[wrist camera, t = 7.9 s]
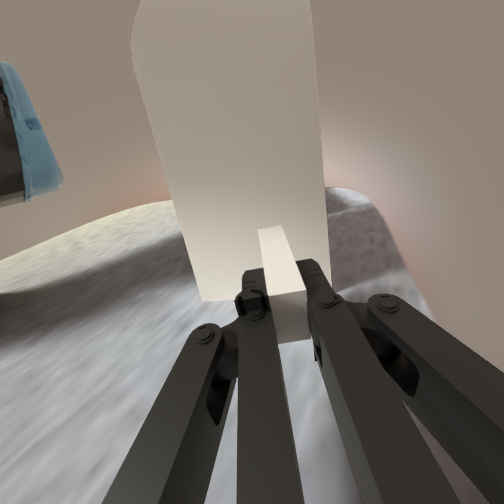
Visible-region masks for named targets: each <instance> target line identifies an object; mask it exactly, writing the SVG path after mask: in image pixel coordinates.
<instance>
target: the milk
mask: <svg viewBox="0 0 504 504" xmlns="http://www.w3.org/2000/svg"><path fill="white" fill-rule="evenodd" d="M131 56H132V61H133V66H134V71H135V74H136V77H137V81H138V84H139V87H140V91H141V95H142V98H143V101H144V105H145V108H146V112H147V115H148V118H149V121H150V125H151V129H152V132H153V135H154V139H155V142H156V145H157V149H158V153H159V156H160V159H161V163H162V166H163V170H164V173H165V176H166V180H167V183H168V186H169V190H170V193H171V197H172V200H173V204H174V207H175V210H176V214H177V217H178V221H179V224H180V227H181V231H182V234H183V238H184V241H185V244H186V248H187V251H188V255H189V258H190V262H191V265H192V268H193V272H194V275H195V279H196V282H197V285H198V289H199V292H200V296H201V299H202V302H204V301H222V300H235V297H236V296H237V295H238V294H239V293H240V292H241V291H242V276H243V274H244V272H245V271H246V270H252V269H258V268H263V261H262V254H261V248H260V241H259V234H258V229H264V228H269V227H274V226H280V225H281V226H282V228H283V231H284V233H285V236H286V239H287V241H288V244H289V246H290V249H291V252H292V254H293V257H294V259H295V261H299V260H304V259H310V258H312V259H313V260H315V261H316V262H318V263H319V265H320V267H321V270H322V271H323V273H324V275H325V276H326V278H327V280H328V282H329V284H330V285H331V287H332V281H331V267H330V254H329V240H328V226H327V213H326V199H325V186H324V172H323V159H322V145H321V131H320V118H319V104H318V91H317V77H316V63H315V49H314V36H313V22H312V14H311V8H310V3H309V0H141V3H140V5H139V8H138V12H137V15H136V18H135V21H134V26H133V30H132V36H131Z"/></svg>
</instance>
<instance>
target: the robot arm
mask: <svg viewBox="0 0 504 504" xmlns="http://www.w3.org/2000/svg"><path fill="white" fill-rule="evenodd" d="M62 182H63V176H62V173H61V170H60V168H59V165H58V163H57V161H56V159H55V156H54V154H53V151H52V149H51V147H50V145H49V142H48V140H47V138H46V135H45V133H44V131H43V129H42V126H41V124H40V121H39V119H38V117H37V115H36V112H35V110H34V108H33V105H32V103H31V101H30V98H29V96H28V93H27V91H26V89H25V87H24V84H23V82H22V80H21V77H20V75H19V73H18V71H17V69H16V67H15V66H13V65H12V64H10V63H8V62H2V61H0V207H4V206H8V205H12V204H16V203H20V202H27V201H29V200H30V199H31V198H35V197H38V196H41V195H44V194H47V193H51V192H53V191H55V190H57V189H58V188H59V187H60V186H61V185H62ZM258 234H259V241H260V248H261V254H262V261H263V268H258V269H252V270H246V271H245V272H244V274H243V276H242V291H241V292H240V293H239V294H238V295H237V296H236V297H235V301H234V302H235V305H236V309H237V312H238V316H239V317H238V318H237V319H236V320H235V321H234V322H232V323H230V324H229V325H226V326H224V327H222V328H220V327H219V326H218V325H216V324H212V323H209V324H203V325H201V326H199V327H197V328H196V329H195V330H193V331H192V333H191V334H190V335H189V337H188V339H187V341H186V343H185V345H184V347H183V348H182V350H181V352H180V354H179V356H178V358H177V360H176V362H175V364H174V366H173V368H172V370H171V372H170V373H169V375H168V377H167V379H166V381H165V383H164V385H163V387H162V389H161V391H160V393H159V395H158V397H157V398H156V400H155V402H154V404H153V406H152V408H151V410H150V412H149V414H148V416H147V418H146V420H145V421H144V423H143V425H142V427H141V429H140V431H139V433H138V435H137V437H136V439H135V441H134V443H133V445H132V446H131V448H130V450H129V452H128V454H127V456H126V458H125V460H124V462H123V464H122V466H121V468H120V470H119V471H118V473H117V475H116V477H115V479H114V481H113V483H112V485H111V487H110V489H109V491H108V493H107V494H106V496H105V498H104V500H103V502H102V504H204V502H205V498H206V494H207V491H208V487H209V483H210V479H211V475H212V471H213V468H214V464H215V460H216V456H217V452H218V448H219V445H220V441H221V437H222V433H223V429H224V425H225V422H226V418H227V414H228V410H229V406H230V402H231V399H232V395H233V391H234V387H235V383H236V378H237V377H238V427H237V504H305V502H304V496H303V490H302V484H301V478H300V472H299V466H298V461H297V455H296V449H295V443H294V437H293V431H292V425H291V419H290V413H289V407H288V401H287V395H286V389H285V383H284V377H283V371H282V365H281V359H280V353H279V348H278V344H281V343H287V342H294V341H300V340H306V339H311V336H312V339H313V345H314V356H315V361H318V364H319V367H320V371H321V374H322V377H323V380H324V383H325V386H326V390H327V393H328V396H329V399H330V402H331V405H332V409H333V412H334V415H335V418H336V421H337V425H338V428H339V431H340V434H341V437H342V440H343V444H344V447H345V450H346V453H347V456H348V460H349V463H350V466H351V469H352V472H353V475H354V479H355V482H356V485H357V488H358V491H359V494H360V498H361V501H362V504H461V503H460V501H459V500H458V498H457V496H456V494H455V493H454V491H453V489H452V487H451V486H450V484H449V482H448V480H447V479H446V477H445V475H444V473H443V472H442V470H441V468H440V467H439V465H438V463H437V461H436V460H435V458H434V456H433V454H432V453H431V451H430V449H429V447H428V446H427V444H426V442H425V440H424V439H423V437H422V435H421V433H420V432H419V430H418V428H417V426H416V425H415V423H414V421H413V419H412V418H411V416H410V414H409V412H408V411H407V409H406V407H405V405H404V404H403V402H402V400H403V401H404V402H405V404H406V405H407V406H408V407H409V408H410V410H411V411H412V412H413V413H414V414H415V415H416V417H417V418H418V419H419V420H420V421H421V422H422V424H423V425H424V426H425V427H426V428H427V430H428V431H429V432H430V433H431V434H432V435H433V437H434V438H435V439H436V440H437V441H438V443H439V444H440V445H441V446H442V447H443V448H444V450H445V451H446V452H447V453H448V454H449V455H450V457H451V458H452V459H453V460H454V461H455V463H456V464H457V465H458V466H459V467H460V468H461V470H462V471H463V472H464V473H465V474H466V475H467V477H468V478H469V479H470V480H471V481H472V483H473V484H474V485H475V486H476V487H477V488H478V490H479V491H480V492H481V493H482V494H483V496H484V497H485V498H486V499H487V500H488V501H489V503H490V504H504V373H503V372H502V371H500V370H499V369H497V368H496V367H495V366H493V365H492V364H491V363H489V362H488V361H486V360H485V359H484V358H482V357H481V356H480V355H478V354H477V353H475V352H474V351H473V350H471V349H470V348H469V347H467V346H466V345H464V344H463V343H462V342H460V341H459V340H458V339H456V338H455V337H453V336H452V335H451V334H449V333H448V332H446V331H445V330H444V329H442V328H441V327H440V326H438V325H437V324H436V323H434V322H433V321H431V320H430V319H429V318H427V317H426V316H425V315H423V314H422V313H420V312H419V311H418V310H416V309H415V308H414V307H412V306H411V305H409V304H408V303H407V302H405V301H404V300H402V299H401V298H399V297H397V296H394V295H390V294H377V295H374V296H372V297H370V298H369V300H368V302H367V303H354V302H348V301H345V300H344V299H343V298H342V297H341V296H340V295H338V294H337V293H335V292H334V291H333V289H332V287H331V285H330V284H329V282H328V280H327V278H326V276H325V275H324V273H323V271H322V270H321V267H320V265H319V263H318V262H316V261H315V260H313V259H312V258H310V259H304V260H299V261H295V259H294V257H293V254H292V252H291V249H290V246H289V244H288V241H287V239H286V236H285V233H284V231H283V228H282V226H281V225H280V226H274V227H269V228H264V229H258ZM310 333H311V334H310ZM401 399H402V400H401Z"/></svg>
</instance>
